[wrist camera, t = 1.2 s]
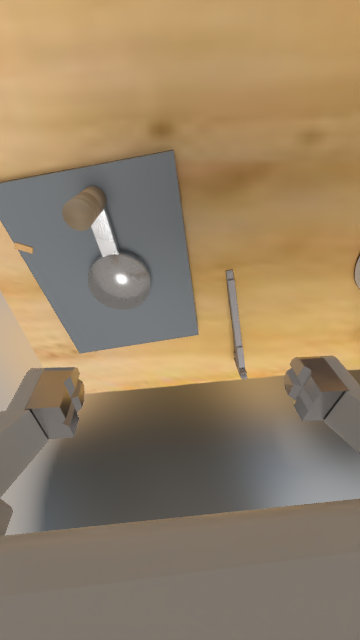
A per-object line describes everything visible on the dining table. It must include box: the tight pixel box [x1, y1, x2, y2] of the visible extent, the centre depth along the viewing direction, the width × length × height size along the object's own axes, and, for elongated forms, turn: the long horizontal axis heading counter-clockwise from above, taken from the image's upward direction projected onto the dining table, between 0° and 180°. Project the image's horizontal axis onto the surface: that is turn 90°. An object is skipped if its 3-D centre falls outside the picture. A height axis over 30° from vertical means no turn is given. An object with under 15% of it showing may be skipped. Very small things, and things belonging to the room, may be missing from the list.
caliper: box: [226, 270, 247, 379], centre depth 40 cm, size 20×1×6 cm, turn 12°
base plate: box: [0, 150, 199, 353], centre depth 34 cm, size 21×26×2 cm
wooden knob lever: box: [62, 186, 151, 310], centre depth 28 cm, size 15×8×7 cm, turn 9°
